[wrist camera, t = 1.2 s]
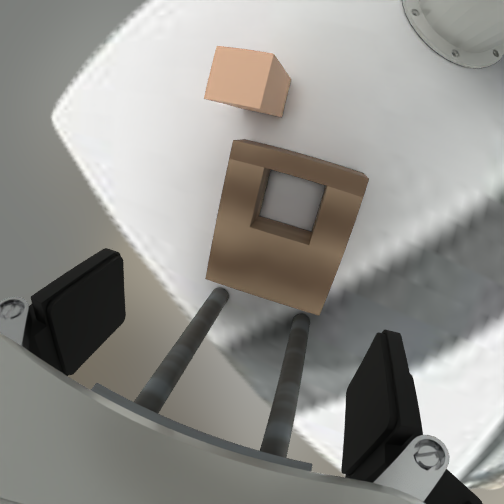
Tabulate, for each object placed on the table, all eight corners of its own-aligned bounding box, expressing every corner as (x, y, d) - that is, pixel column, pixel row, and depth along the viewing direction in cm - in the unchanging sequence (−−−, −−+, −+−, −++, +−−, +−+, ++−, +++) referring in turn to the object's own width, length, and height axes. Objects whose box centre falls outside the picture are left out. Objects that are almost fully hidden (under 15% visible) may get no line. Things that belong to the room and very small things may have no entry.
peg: (251, 71, 26) (216, 45, 17) (291, 79, 26) (273, 53, 17) (242, 108, 28) (203, 98, 19) (281, 117, 28) (259, 109, 18)
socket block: (245, 139, 29) (65, 165, 8) (363, 173, 28) (454, 281, 7) (210, 302, 37) (106, 455, 16) (305, 333, 36) (266, 517, 15)
